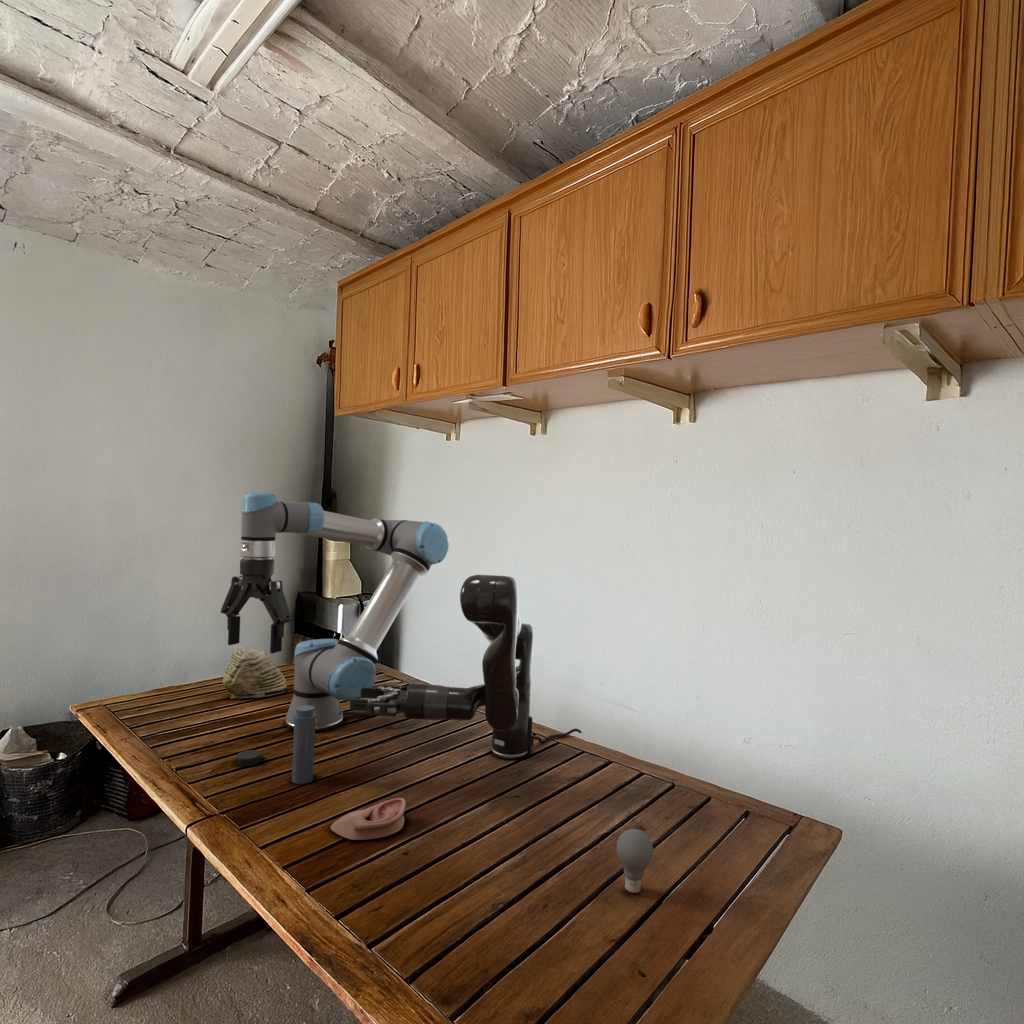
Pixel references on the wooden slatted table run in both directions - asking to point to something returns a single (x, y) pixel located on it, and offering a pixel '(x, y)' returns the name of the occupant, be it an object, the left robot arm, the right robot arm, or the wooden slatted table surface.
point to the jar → (303, 744)
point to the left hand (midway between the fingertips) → (254, 648)
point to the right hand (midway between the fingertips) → (356, 698)
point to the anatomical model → (372, 821)
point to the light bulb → (634, 857)
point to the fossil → (252, 674)
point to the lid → (248, 758)
